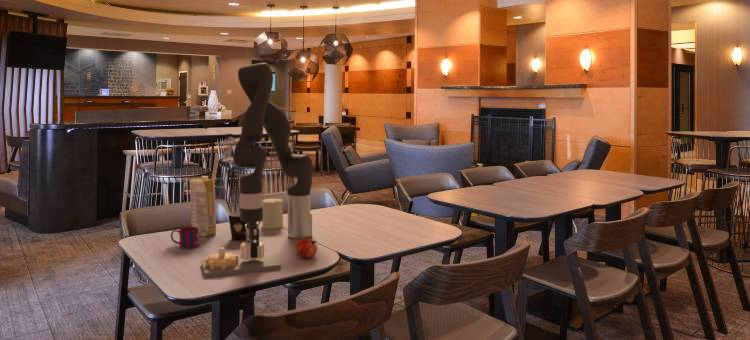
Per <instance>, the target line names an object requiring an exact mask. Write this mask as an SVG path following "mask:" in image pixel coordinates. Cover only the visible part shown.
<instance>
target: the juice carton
mask: <svg viewBox="0 0 750 340" xmlns="http://www.w3.org/2000/svg"><path fill="white" fill-rule="evenodd" d="M215 192H216V189H215V179H214V178H213V179H212V178H209V176H208V175H201V177H199V178H198V177H197V178H191V179H189V200H190V223H191V224H190V227H197V228H198V236H199V237H202V238H203V237H204V238H206V237H210V236H213V235H215V234H217V217H216V193H215Z"/></svg>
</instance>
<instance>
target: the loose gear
mask: <svg viewBox="0 0 750 340" xmlns="http://www.w3.org/2000/svg"><path fill="white" fill-rule="evenodd" d="M253 243H256V241H254V242H253ZM264 254H265V242H261V241H260V240H259V246H258V257H257V258H251V247H250V242H248V241H246V242H242V243H241V244H240V257H241V259H244V260H255V259H262V258H263V257H264Z"/></svg>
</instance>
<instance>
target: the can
mask: <svg viewBox="0 0 750 340" xmlns="http://www.w3.org/2000/svg"><path fill="white" fill-rule="evenodd" d="M283 201H284V200H283V199H282V198H263V219H262V220H261V227H262V228H263V229H266V230H277V229H280V228H283V227H284V204H283V203H284V202H283Z"/></svg>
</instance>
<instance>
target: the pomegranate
mask: <svg viewBox="0 0 750 340" xmlns="http://www.w3.org/2000/svg"><path fill="white" fill-rule="evenodd" d="M317 243H318V241H317V240H313V239H311V238H309V237H306V238H299V239H298V241H297V242H296V243H295V249H296V252H297V253H298V254H296V255H295V256H296V257H297V256H301V258H303V259H309V258H312V257H314V256H315V255H316V254H317V252H318V251H317V250H318V246H317Z"/></svg>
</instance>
